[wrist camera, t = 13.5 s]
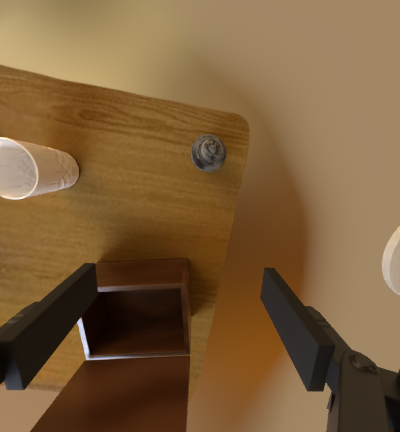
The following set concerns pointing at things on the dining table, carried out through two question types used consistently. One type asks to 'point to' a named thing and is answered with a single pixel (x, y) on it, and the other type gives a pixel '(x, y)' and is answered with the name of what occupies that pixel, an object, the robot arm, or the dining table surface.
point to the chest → (139, 310)
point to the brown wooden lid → (122, 397)
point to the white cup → (33, 169)
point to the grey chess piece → (208, 153)
